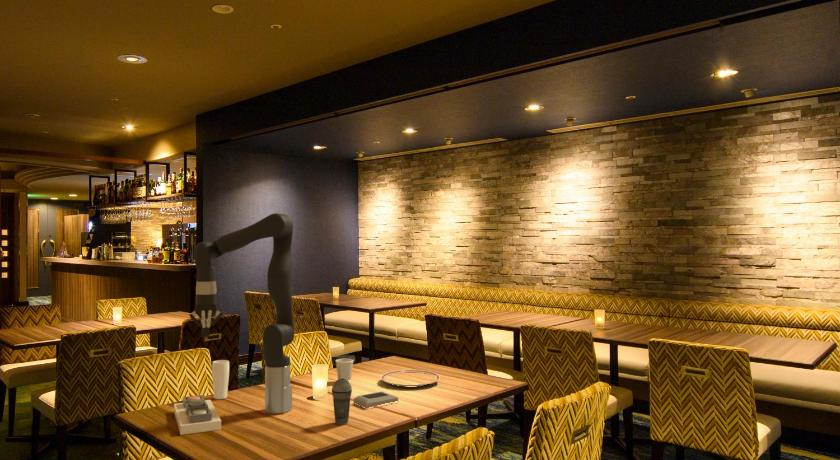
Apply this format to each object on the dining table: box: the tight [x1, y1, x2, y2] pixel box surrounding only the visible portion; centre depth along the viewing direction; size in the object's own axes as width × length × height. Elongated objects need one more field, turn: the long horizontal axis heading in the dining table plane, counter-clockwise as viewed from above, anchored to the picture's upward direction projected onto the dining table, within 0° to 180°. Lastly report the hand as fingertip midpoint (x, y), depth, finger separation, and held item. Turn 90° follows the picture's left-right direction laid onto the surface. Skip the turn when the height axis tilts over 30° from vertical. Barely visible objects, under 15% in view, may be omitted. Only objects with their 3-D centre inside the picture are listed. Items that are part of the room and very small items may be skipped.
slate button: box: [190, 399, 203, 408], centre depth 212 cm, size 5×5×2 cm
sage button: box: [193, 410, 207, 415], centre depth 203 cm, size 5×5×2 cm
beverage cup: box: [331, 366, 353, 425], centre depth 209 cm, size 7×7×20 cm
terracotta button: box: [187, 395, 200, 401], centre depth 221 cm, size 5×5×2 cm
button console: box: [173, 394, 222, 436], centre depth 212 cm, size 30×13×6 cm, turn 26°
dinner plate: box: [380, 369, 441, 386], centre depth 269 cm, size 27×27×3 cm
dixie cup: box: [335, 358, 355, 380], centre depth 270 cm, size 8×8×10 cm
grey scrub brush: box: [353, 391, 399, 408], centre depth 234 cm, size 10×4×15 cm
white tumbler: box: [211, 359, 230, 400], centre depth 242 cm, size 7×7×15 cm
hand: (205, 337), depth 230 cm, fingers closed
